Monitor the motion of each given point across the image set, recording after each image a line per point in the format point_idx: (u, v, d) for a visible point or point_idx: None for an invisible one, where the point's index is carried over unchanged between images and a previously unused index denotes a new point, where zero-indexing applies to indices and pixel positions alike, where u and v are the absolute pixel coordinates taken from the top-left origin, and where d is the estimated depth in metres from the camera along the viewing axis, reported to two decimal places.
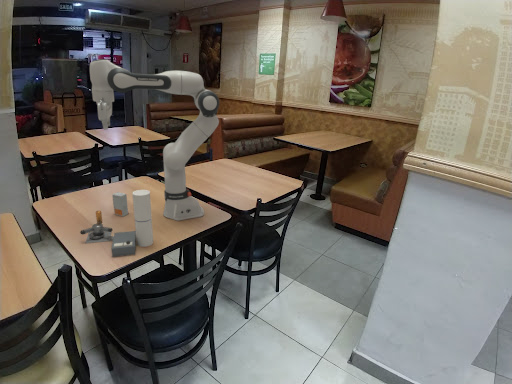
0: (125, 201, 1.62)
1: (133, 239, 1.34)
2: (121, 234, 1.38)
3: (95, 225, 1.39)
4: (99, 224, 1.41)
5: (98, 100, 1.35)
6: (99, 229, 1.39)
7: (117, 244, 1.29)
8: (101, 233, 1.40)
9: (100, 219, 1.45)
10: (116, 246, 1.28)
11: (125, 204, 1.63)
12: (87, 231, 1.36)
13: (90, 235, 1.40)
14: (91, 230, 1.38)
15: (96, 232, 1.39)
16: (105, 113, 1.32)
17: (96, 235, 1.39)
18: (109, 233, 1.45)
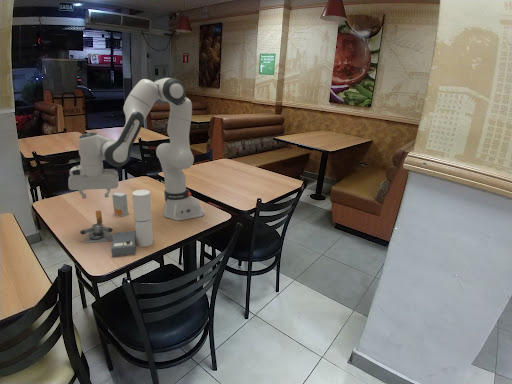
0: (125, 201, 1.62)
1: (133, 239, 1.34)
2: (121, 234, 1.38)
3: (95, 225, 1.39)
4: (99, 224, 1.41)
5: (101, 172, 1.37)
6: (99, 229, 1.39)
7: (117, 244, 1.29)
8: (101, 233, 1.40)
9: (100, 219, 1.45)
10: (116, 246, 1.28)
11: (125, 204, 1.63)
12: (87, 231, 1.36)
13: (90, 235, 1.40)
14: (91, 230, 1.38)
15: (96, 232, 1.39)
16: (117, 180, 1.43)
17: (96, 235, 1.39)
18: (109, 233, 1.45)
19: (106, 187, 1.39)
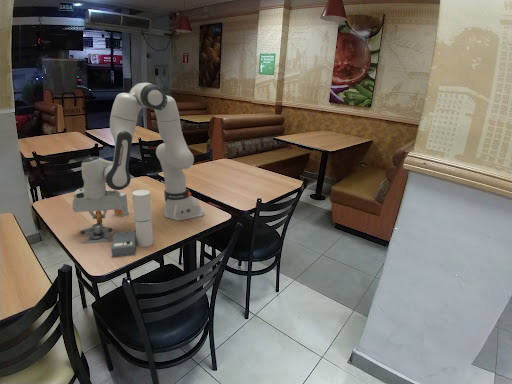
0: (125, 201, 1.62)
1: (133, 239, 1.34)
2: (121, 234, 1.38)
3: (95, 225, 1.39)
4: (99, 224, 1.41)
5: (104, 194, 1.40)
6: (99, 229, 1.39)
7: (117, 244, 1.29)
8: (101, 233, 1.40)
9: (100, 219, 1.45)
10: (116, 246, 1.28)
11: (125, 204, 1.63)
12: (87, 231, 1.36)
13: (90, 235, 1.40)
14: (91, 230, 1.38)
15: (96, 232, 1.39)
16: None
17: (96, 235, 1.39)
18: (109, 233, 1.45)
19: (109, 208, 1.43)
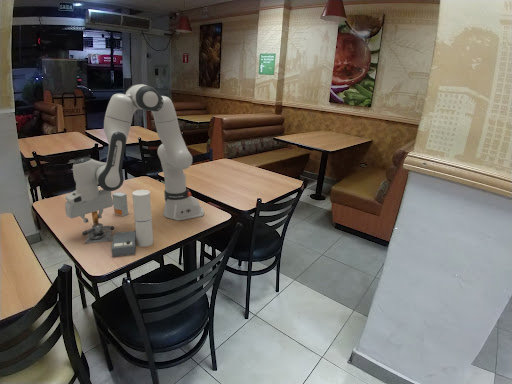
0: (125, 201, 1.62)
1: (133, 239, 1.34)
2: (121, 234, 1.38)
3: (95, 225, 1.39)
4: (98, 224, 1.41)
5: (99, 194, 1.41)
6: (100, 229, 1.39)
7: (117, 244, 1.29)
8: (102, 232, 1.41)
9: (97, 219, 1.44)
10: (116, 246, 1.28)
11: (125, 204, 1.63)
12: (89, 232, 1.36)
13: (90, 236, 1.39)
14: (92, 230, 1.37)
15: (97, 232, 1.39)
16: None
17: (97, 235, 1.39)
18: (109, 233, 1.45)
19: (103, 207, 1.44)
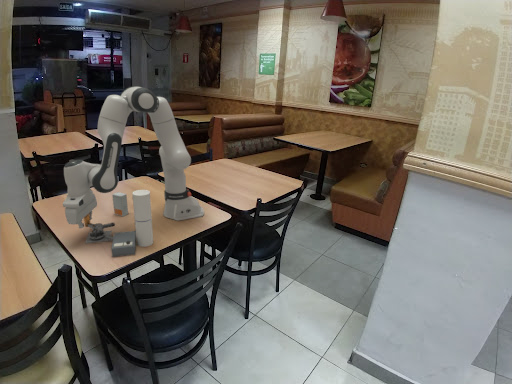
0: (125, 201, 1.62)
1: (133, 239, 1.34)
2: (121, 234, 1.38)
3: (96, 226, 1.39)
4: (97, 224, 1.41)
5: None
6: (102, 227, 1.40)
7: (117, 244, 1.29)
8: (103, 231, 1.42)
9: (89, 221, 1.42)
10: (116, 246, 1.28)
11: (125, 204, 1.63)
12: (95, 232, 1.36)
13: (93, 237, 1.38)
14: (96, 231, 1.37)
15: (100, 231, 1.40)
16: None
17: (100, 234, 1.40)
18: (109, 233, 1.45)
19: (93, 208, 1.43)
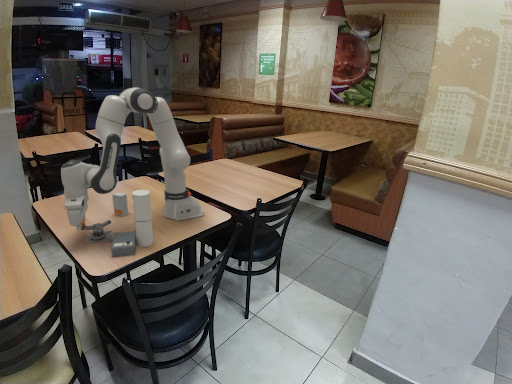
0: (125, 201, 1.62)
1: (133, 239, 1.34)
2: (121, 234, 1.38)
3: (96, 226, 1.39)
4: (96, 224, 1.40)
5: None
6: (102, 226, 1.41)
7: (117, 244, 1.29)
8: None
9: None
10: (116, 246, 1.28)
11: (125, 204, 1.63)
12: (101, 231, 1.37)
13: (97, 237, 1.38)
14: (100, 230, 1.38)
15: (102, 230, 1.41)
16: None
17: (102, 233, 1.41)
18: (109, 233, 1.45)
19: (86, 209, 1.41)
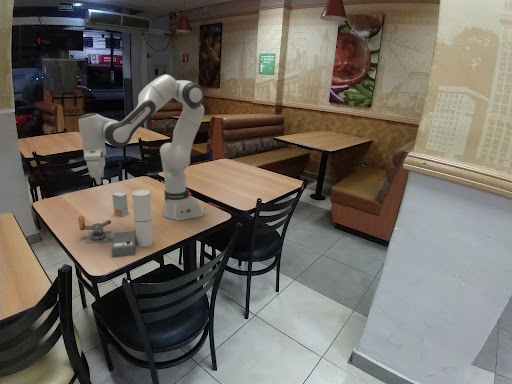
0: (125, 201, 1.62)
1: (133, 239, 1.34)
2: (121, 234, 1.38)
3: (96, 226, 1.39)
4: (96, 224, 1.40)
5: None
6: (102, 226, 1.41)
7: (117, 244, 1.29)
8: None
9: None
10: (116, 246, 1.28)
11: (125, 204, 1.63)
12: (101, 231, 1.37)
13: (97, 237, 1.38)
14: (100, 230, 1.38)
15: (102, 230, 1.41)
16: None
17: (102, 233, 1.41)
18: (109, 233, 1.45)
19: (104, 165, 1.42)
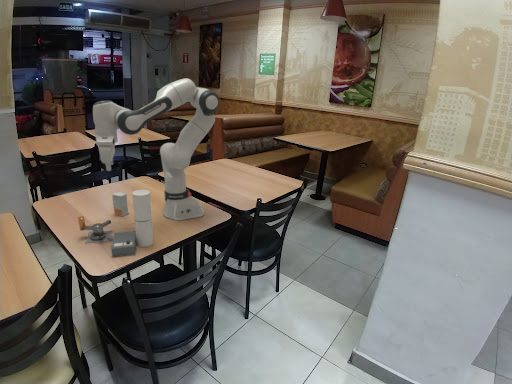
0: (125, 201, 1.62)
1: (133, 239, 1.34)
2: (121, 234, 1.38)
3: (96, 226, 1.39)
4: (96, 224, 1.40)
5: None
6: (102, 226, 1.41)
7: (117, 244, 1.29)
8: None
9: None
10: (116, 246, 1.28)
11: (125, 204, 1.63)
12: (101, 231, 1.37)
13: (97, 237, 1.38)
14: (100, 230, 1.38)
15: (102, 230, 1.41)
16: None
17: (102, 233, 1.41)
18: (109, 233, 1.45)
19: None
